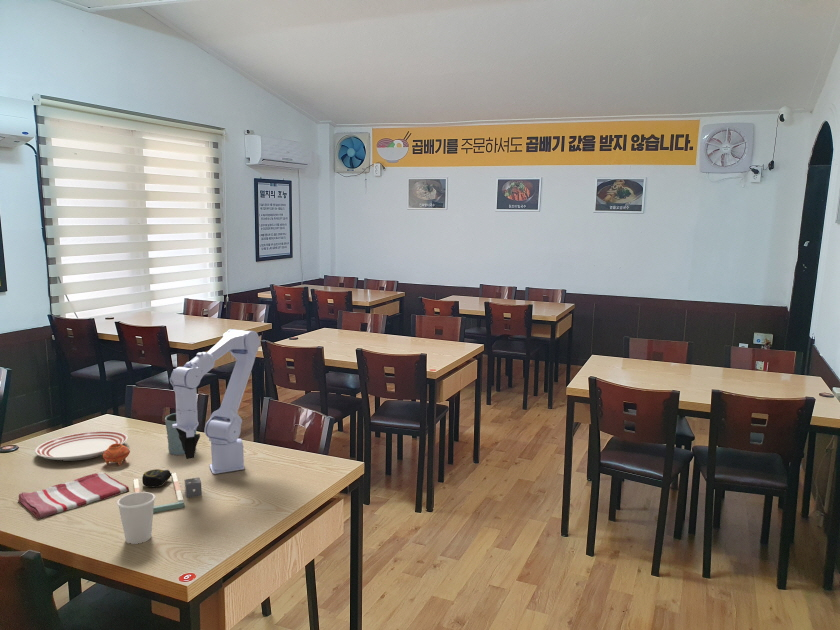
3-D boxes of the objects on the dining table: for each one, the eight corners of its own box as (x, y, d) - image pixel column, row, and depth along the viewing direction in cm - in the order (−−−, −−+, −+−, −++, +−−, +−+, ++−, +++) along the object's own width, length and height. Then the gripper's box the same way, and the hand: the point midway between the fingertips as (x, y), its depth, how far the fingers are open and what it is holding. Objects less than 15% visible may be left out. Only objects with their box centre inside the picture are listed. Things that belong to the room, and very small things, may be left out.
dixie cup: (149, 526, 158) (147, 488, 156) (162, 538, 152) (160, 499, 150) (114, 537, 152) (112, 498, 151) (126, 550, 146) (123, 509, 145)
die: (199, 490, 180) (199, 477, 179) (201, 495, 176) (201, 482, 176) (185, 493, 178) (184, 479, 177) (186, 498, 174) (186, 484, 174)
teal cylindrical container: (187, 443, 218) (185, 410, 217) (204, 449, 212) (203, 415, 211) (160, 451, 210) (158, 417, 208) (178, 458, 204) (176, 422, 203)
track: (175, 476, 189) (175, 472, 189) (184, 507, 169) (184, 502, 169) (133, 483, 184) (133, 479, 184) (137, 515, 164) (136, 511, 163)
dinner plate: (22, 452, 209) (22, 443, 208) (107, 432, 230) (106, 424, 229) (54, 474, 191) (53, 463, 191) (142, 450, 212) (142, 440, 211)
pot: (136, 461, 200) (130, 443, 198) (112, 473, 195) (105, 455, 193) (127, 454, 206) (121, 436, 204) (102, 466, 201) (96, 447, 199)
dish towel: (16, 502, 172) (15, 493, 172) (104, 477, 190) (104, 469, 189) (39, 521, 161) (38, 511, 161) (130, 493, 179) (129, 484, 178)
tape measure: (161, 490, 180) (160, 477, 179) (138, 489, 180) (137, 476, 180) (172, 480, 187) (171, 468, 186) (149, 480, 187) (148, 468, 187)
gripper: (169, 403, 185) (171, 448, 187) (174, 416, 172) (176, 464, 174) (194, 401, 188) (196, 444, 190) (201, 413, 175) (203, 460, 177)
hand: (188, 453), depth 182 cm, fingers open, 7 cm apart
